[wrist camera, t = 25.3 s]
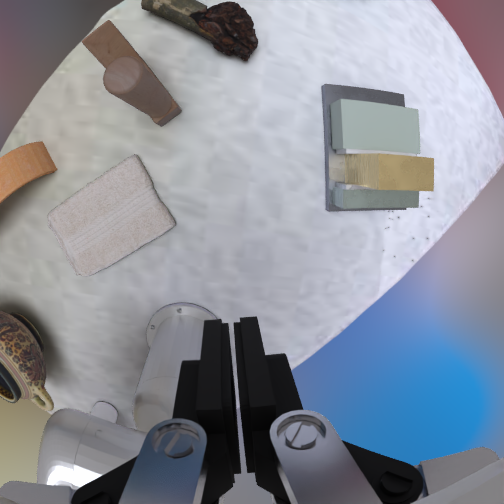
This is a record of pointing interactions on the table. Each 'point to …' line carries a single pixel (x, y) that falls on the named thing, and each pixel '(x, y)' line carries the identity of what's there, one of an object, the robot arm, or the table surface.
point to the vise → (337, 190)
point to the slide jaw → (374, 128)
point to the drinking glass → (105, 411)
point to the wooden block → (130, 74)
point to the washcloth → (110, 218)
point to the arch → (23, 167)
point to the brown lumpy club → (211, 23)
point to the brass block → (390, 171)
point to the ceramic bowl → (22, 362)
